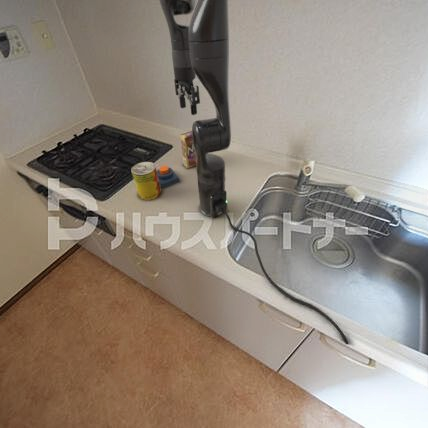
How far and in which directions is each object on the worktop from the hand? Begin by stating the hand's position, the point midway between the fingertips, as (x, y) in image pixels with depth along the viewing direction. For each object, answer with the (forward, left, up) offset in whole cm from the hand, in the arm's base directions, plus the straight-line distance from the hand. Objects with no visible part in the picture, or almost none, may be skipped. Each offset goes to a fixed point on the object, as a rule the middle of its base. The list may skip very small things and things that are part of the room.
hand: (188, 111), depth 94 cm
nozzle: (-3, +16, -21) cm, 26 cm away
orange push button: (-3, +16, -24) cm, 29 cm away
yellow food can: (-7, +25, -25) cm, 36 cm away
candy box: (0, 0, -25) cm, 24 cm away
